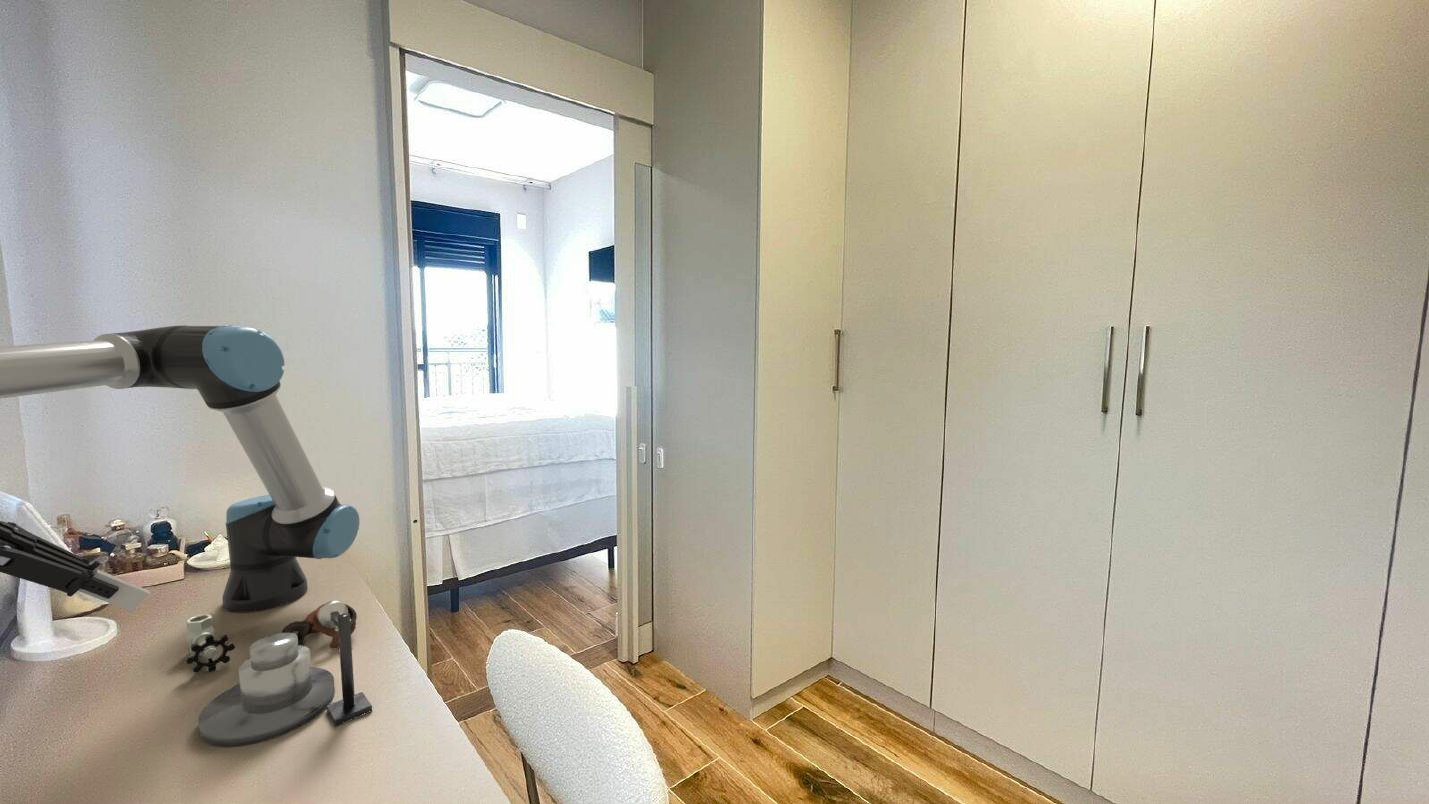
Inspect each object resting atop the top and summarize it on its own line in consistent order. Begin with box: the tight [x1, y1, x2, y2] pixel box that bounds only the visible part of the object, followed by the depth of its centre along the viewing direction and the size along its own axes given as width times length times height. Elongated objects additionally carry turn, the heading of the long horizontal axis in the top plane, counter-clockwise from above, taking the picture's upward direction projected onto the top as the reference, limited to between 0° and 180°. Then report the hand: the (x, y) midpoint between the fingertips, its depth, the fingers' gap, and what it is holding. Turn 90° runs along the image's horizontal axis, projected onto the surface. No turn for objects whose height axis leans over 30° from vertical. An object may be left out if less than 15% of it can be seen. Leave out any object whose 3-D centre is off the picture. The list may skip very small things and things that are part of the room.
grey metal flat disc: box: [197, 666, 336, 748], centre depth 91 cm, size 17×17×2 cm
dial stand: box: [318, 599, 373, 727], centre depth 91 cm, size 10×5×16 cm, turn 47°
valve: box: [184, 613, 236, 673], centre depth 104 cm, size 7×7×12 cm
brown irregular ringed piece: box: [281, 603, 358, 650], centre depth 110 cm, size 12×10×8 cm
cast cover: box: [238, 632, 313, 714], centre depth 91 cm, size 9×9×9 cm
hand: (140, 601), depth 79 cm, fingers closed
